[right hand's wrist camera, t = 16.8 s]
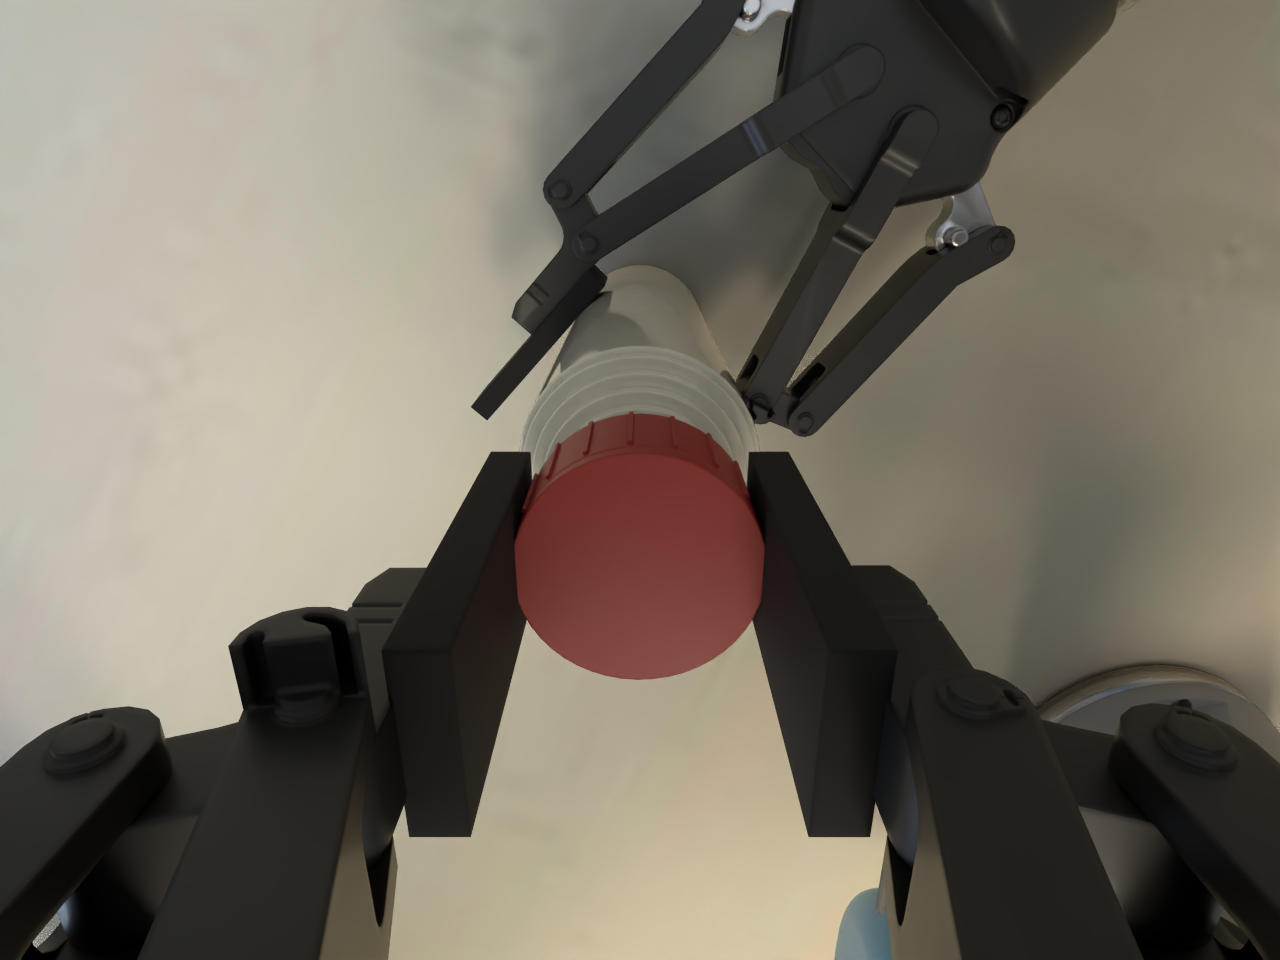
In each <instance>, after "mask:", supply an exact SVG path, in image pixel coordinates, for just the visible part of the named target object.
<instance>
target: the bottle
mask: <svg viewBox="0 0 1280 960" xmlns="http://www.w3.org/2000/svg"><path fill="white" fill-rule="evenodd" d="M606 276H607V277H608V278H607V281H606V284H605V287H604V288H603V289H602V290H601V291H600V292H599V293H598V295H597V296H596V297H595V298H594V299H593V300H592V301H591V303H590V304H589V305H588V306H587V307H586V308H585V309H584V311H583V312H582V313H581V314H580V315H579V316H578V317H577V319H576V320H575V321H574V322H573V323H572V326H571V328H570V330H569V332H568V334H567V336H566V338H565V340H564V342H563V344H562V346H561V348H560V350H559V352H558V354H557V357H556V359H555V361H554V363H553V365H552V367H551V369H550V371H549V373H548V375H547V377H546V379H545V381H544V383H543V385H542V387H541V390H540V392H539V394H538V396H537V398H536V400H535V402H534V404H533V406H532V408H531V410H530V412H529V415H528V417H527V420H526V422H525V425H524V428H523V432H522V436H521V440H520V450H519V452H531V468H532V479H533V477H534V474H535V473H537V474H539V472H540V470H541V468H542V466H543V464H544V463H545V462H546V460H547V459H548V457H549V456H550V455H551V453H552V452H553V451H554V448H555V445H556V444H557V443H558V442H559V443H560V444H561V443H562V442H563V441H565V440H566V439H567V438H568V437H569V436H571V435H572V434H574V433H575V432H577V431H578V430H580V429H582V428H583V427H585V426H588V424H589V422H590V421H593V422H596V421H599V420H603V419H606V418H609V417H613V416H619V415H625V414H629V412H633V413H634V414H654V415H660V416H665V417H670V416H675V419H676V420H679V421H682V422H685V423H687V424H689V425H691V426H693V427H695V428H697V429H699V430H701V431H702V432H704V433H705V434H707V433H708V432H709V433H710V434H711V435H712V438H713V439H714V440H715V441H716V442H717V443H718V444H719V445H720V446H721V447H722V448H723V449H724V450H725V451H726V452H727V453H728V455H729V456H730V457H731V458H732V460H733V461H735V460H737V462H738V464H739V467H740V469H741V472H742V475H743V478H744V481H745V484H746V487H747V474H748V456H749V452H760V449H759V441H758V436H757V431H756V428H755V425H754V422H753V420H752V417H751V415H750V412H749V410H748V408H747V406H746V404H745V402H744V400H743V398H742V396H741V394H740V392H739V390H738V388H737V385H736V383H735V381H734V379H733V377H732V375H731V373H730V371H729V369H728V367H727V365H726V363H725V361H724V359H723V356H722V354H721V352H720V350H719V348H718V346H717V344H716V342H715V340H714V338H713V336H712V334H711V332H710V330H709V327H708V325H707V323H706V321H705V319H704V317H703V315H702V313H701V311H700V309H699V307H698V305H697V303H696V301H695V299H694V297H693V295H692V293H691V292H690V291H689V289H688V288H687V287H686V286H685V285H684V283H683V282H682V281H680V280H679V279H678V278H677V277H675V276H674V275H672V274H671V273H669V272H667V271H665V270H663V269H660V268H657V267H653V266H647V265H632V266H626V267H622V268H619V269H617V270H614V271H612V272H610V273H609V274H607V275H606Z"/></svg>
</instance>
